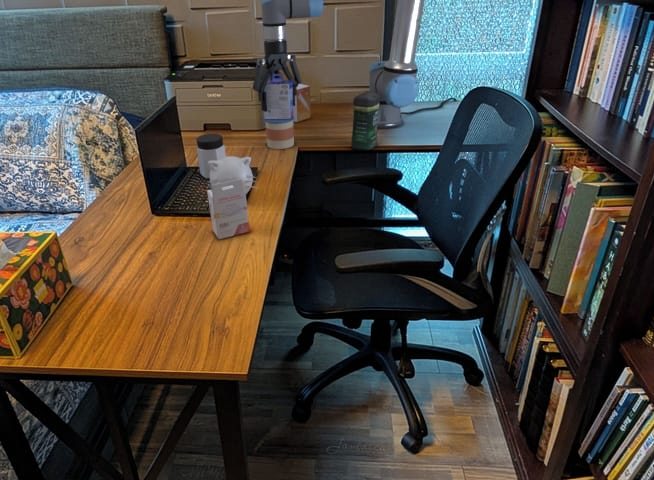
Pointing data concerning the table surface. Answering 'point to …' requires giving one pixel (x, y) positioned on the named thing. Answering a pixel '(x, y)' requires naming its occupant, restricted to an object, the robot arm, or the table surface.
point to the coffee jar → (365, 120)
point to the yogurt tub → (280, 133)
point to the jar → (209, 151)
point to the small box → (302, 103)
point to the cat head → (231, 171)
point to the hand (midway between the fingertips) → (278, 108)
